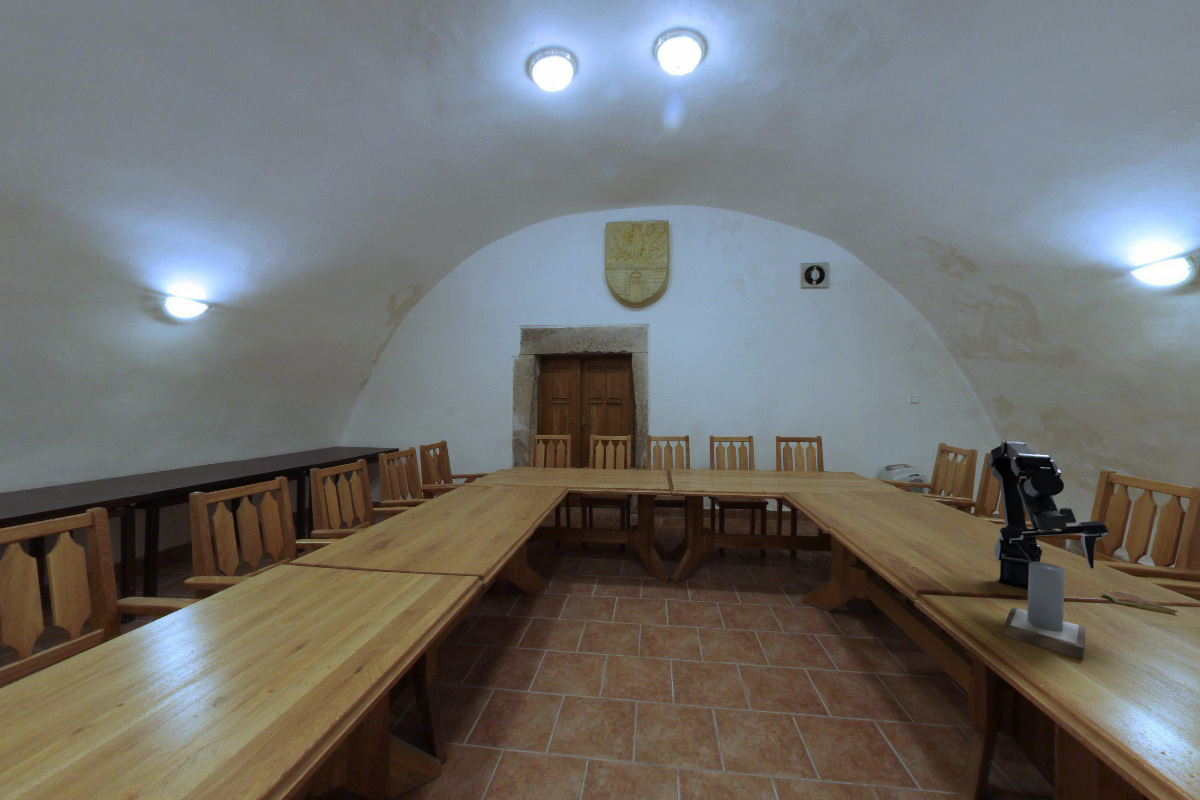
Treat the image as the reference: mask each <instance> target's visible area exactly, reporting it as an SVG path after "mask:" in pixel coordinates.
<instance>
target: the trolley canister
mask: <svg viewBox="0 0 1200 800" xmlns="http://www.w3.org/2000/svg"><path fill="white" fill-rule="evenodd" d="M1065 571H1066V570H1065V569H1064V568H1063V567H1061V566H1059V565H1056V564H1052V563H1048V562H1041V561H1040V562H1029V579H1028V589H1027V611H1028V612H1027V621H1028V622H1029V623H1030V624H1032V625H1034V626H1036V627H1038V628H1041V629H1045V630H1049V631H1056V632H1059V631H1062V630H1063V621H1064V606H1065V603H1064V602H1065V601H1064V600H1065V573H1066V572H1065Z"/></svg>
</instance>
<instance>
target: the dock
mask: <svg viewBox="0 0 1200 800" xmlns="http://www.w3.org/2000/svg"><path fill="white" fill-rule="evenodd" d="M1027 612H1028V610H1025V609H1021V608H1018V607H1014V606H1011V608H1010V610H1009V613H1008V615H1007V617H1006V619H1005V621H1004V624H1003V636H1005V637H1008V638H1011V639H1015V640H1018V641H1021V642H1024V643H1027V644H1031V645H1034V646H1037V647H1040V648H1044V649H1045V650H1050V651H1053V652H1056V653H1059V654H1063V655H1065V654H1066V655H1067V656H1068V657H1072V658H1075V657H1076V659H1078V658H1079V659H1078V660H1081V659H1082V661H1083V660H1084V654H1085V642H1086V626H1083V625H1079V624H1075V623H1072V622H1069V621H1066V620H1065V621H1064V620H1063V630H1062V631H1059V632H1056V631H1049V630H1045V629H1041V628H1038V627H1036V626H1034V625H1032V624H1030V623H1029V622H1028V621H1027Z"/></svg>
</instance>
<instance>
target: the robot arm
mask: <svg viewBox="0 0 1200 800" xmlns="http://www.w3.org/2000/svg"><path fill="white" fill-rule="evenodd" d="M987 460H988V461H987V462H988V467H989V468H990V470H991V474H992V476H993V477H994V478H995V479H996V480H997V481H998V482H999V486H1000V494H1001V502H1002V509H1003V517H1004V518H1003V520H1004V526H1005V527H1001V528H1000V529H999V537H998V539H997V541H996V543H995V546H994V557H995V558H996V559H997V561H998V562H999V561H1000V564H999V565H1000V566H999V579H998V582H999V583H1001V584H1002V583H1003V584H1006V585H1010V586H1013V587H1017V588H1018V587H1019V588H1022V589H1027V590H1028V579H1029V562H1041V559H1042V554H1043V550H1042V548H1041V546H1040V544H1038V543H1037V542H1038V541H1037V538H1036V537H1045V536H1062V535H1076V534H1078V535H1079V534H1080V535H1081V536H1082V537H1080V541H1081V545H1082V548H1083V551H1084V554H1085V558H1086V561H1087V564H1088V566H1089V568H1090V569H1092V570H1093V569H1094V566H1095V565H1094V564H1095V563H1094V561H1095V559H1094V555H1095V554H1094V553H1095V545H1096V542H1097V540H1100V539H1103V536H1106V535H1107V534H1109V533H1110V532H1109V530H1108V527H1107V525H1106V523H1104V522H1102V521H1101V520H1098V521H1097V520H1096V521H1095V520H1094V521H1083V522H1081V521H1080V522H1079V523H1077V520H1076V516H1075V513H1074V511H1073V510H1072V508H1071V507H1065V508H1064V507H1060V508H1059V510H1058V506H1057V503H1056V502H1055V499H1054V497H1055V496H1057V495H1059V494H1061V493H1062V491H1064V487H1065V482H1064V481H1063V479H1061V475H1062V472H1061V470H1060V468H1059V467H1058V466H1057V463H1055V460H1054V459H1052V458H1051V456H1050V455H1048V454H1045V453H1037V452H1034V451H1033V450H1031V449H1030V448H1029V447H1028V446H1027V443H1026V442H1023V441H1014V440H1013V441H1012V440H1011V441H1010V440H1004V441H1002V442H1001V443H1000V445H999V446H997V447H995V448H993V449H991V450H990V453H989V455H988V459H987ZM1022 477H1023V478H1022ZM1024 508H1025V509H1024ZM1025 512H1026V514H1027V516H1028V519H1029V522H1030V523H1031V527H1032V528H1028V527H1027V522H1026V515H1025ZM1076 523H1077V524H1076ZM1067 524H1076V525H1069V526H1068V525H1067Z"/></svg>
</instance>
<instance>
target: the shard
mask: <svg viewBox="0 0 1200 800" xmlns="http://www.w3.org/2000/svg"><path fill="white" fill-rule="evenodd" d="M1100 594H1101V595H1102V596H1103V597H1105V596H1106V597H1105V598H1108V597H1109V598H1108V599H1110V598H1111V599H1112V600H1111V599H1110V600H1111V601H1113V602H1115V604H1118V605H1119V604H1120V605H1126V606H1131V607H1135V608H1141V609H1145V610H1150V611H1154V612H1159V613H1164V614H1170V615H1171V614H1172V615H1175V614H1176V613H1178V612H1179V611H1178V610H1177V609H1173V608H1170V607H1167V606H1164V605H1162V604H1158V603H1156V602H1154V601H1151V600H1148V599H1147V598H1143V597H1140V596H1137V595H1134V594H1132V593H1129V592H1126V591H1120V590H1102V591H1101V592H1100Z"/></svg>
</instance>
